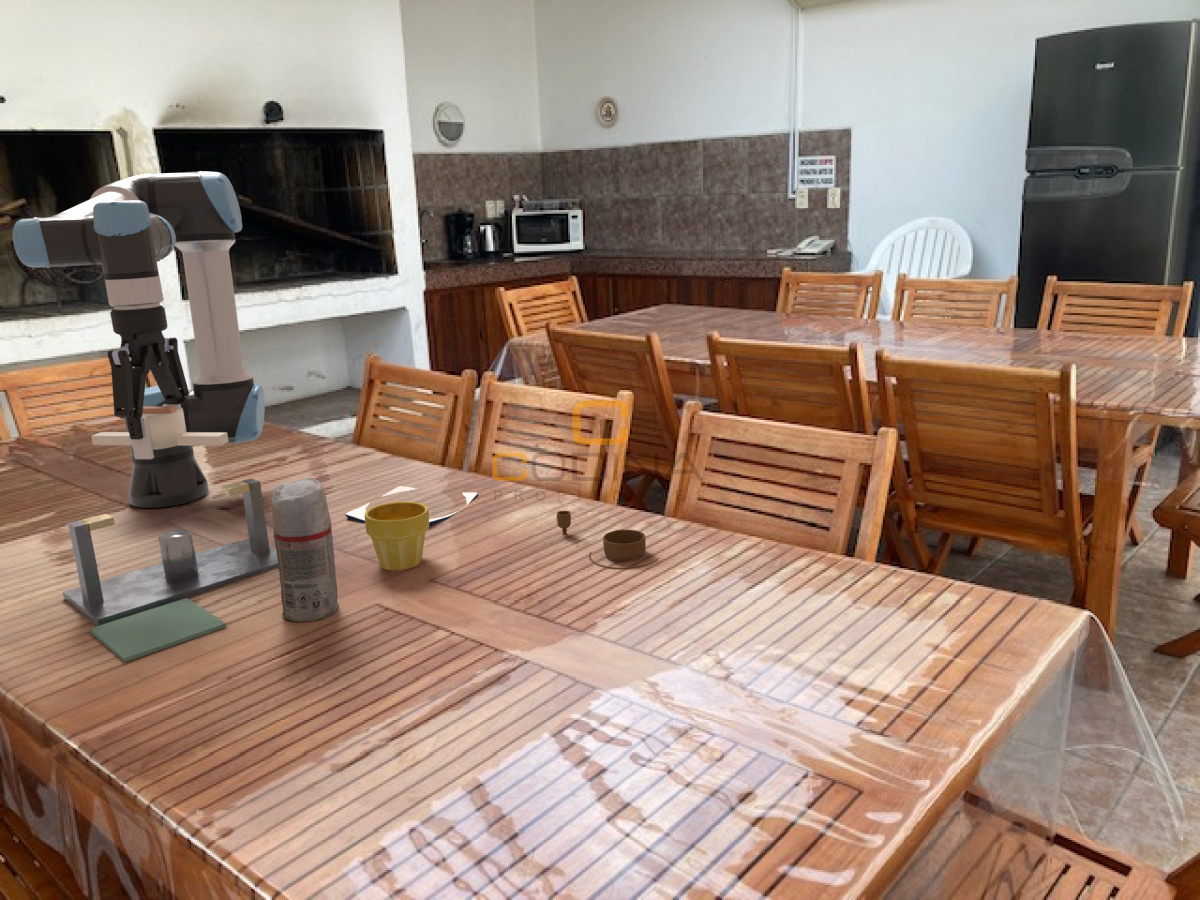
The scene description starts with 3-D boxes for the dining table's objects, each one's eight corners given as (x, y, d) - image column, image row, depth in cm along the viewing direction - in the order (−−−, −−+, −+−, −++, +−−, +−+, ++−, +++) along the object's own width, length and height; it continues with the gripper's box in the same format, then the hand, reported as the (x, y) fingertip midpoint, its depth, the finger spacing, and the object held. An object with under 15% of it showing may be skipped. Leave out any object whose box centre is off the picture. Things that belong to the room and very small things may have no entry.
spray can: (353, 603, 142) (338, 476, 137) (320, 626, 134) (303, 493, 129) (306, 597, 145) (289, 473, 139) (271, 620, 137) (253, 489, 132)
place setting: (581, 585, 146) (579, 550, 145) (552, 543, 165) (550, 511, 163) (686, 569, 151) (686, 535, 149) (646, 530, 169) (645, 499, 168)
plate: (338, 528, 177) (336, 515, 176) (399, 496, 195) (398, 484, 194) (431, 538, 169) (429, 524, 169) (485, 504, 187) (484, 491, 187)
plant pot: (445, 558, 158) (440, 503, 156) (409, 581, 149) (403, 523, 147) (395, 551, 162) (390, 498, 160) (357, 573, 153) (350, 516, 151)
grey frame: (251, 544, 169) (240, 470, 166) (294, 564, 158) (283, 486, 155) (64, 598, 148) (47, 516, 145) (98, 627, 137) (81, 538, 134)
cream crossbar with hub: (238, 437, 149) (232, 401, 148) (209, 450, 142) (203, 413, 140) (114, 436, 153) (108, 402, 152) (80, 449, 146) (73, 413, 144)
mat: (187, 601, 145) (186, 597, 145) (226, 627, 135) (225, 623, 135) (90, 632, 136) (89, 628, 135) (125, 662, 126) (124, 658, 126)
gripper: (156, 298, 152) (179, 434, 158) (66, 315, 133) (95, 469, 139) (198, 297, 151) (219, 434, 157) (113, 314, 131) (141, 470, 137)
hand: (161, 450), depth 148 cm, fingers closed on cream crossbar with hub, 8 cm apart
